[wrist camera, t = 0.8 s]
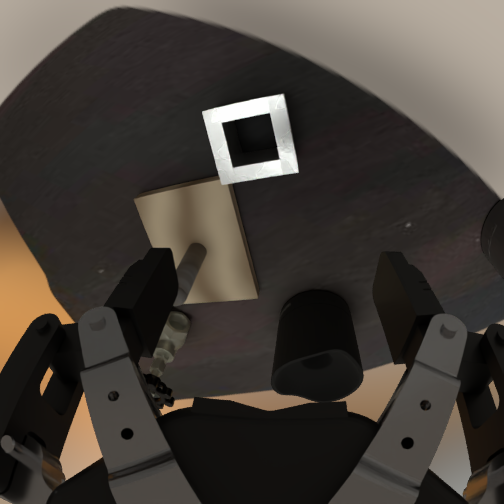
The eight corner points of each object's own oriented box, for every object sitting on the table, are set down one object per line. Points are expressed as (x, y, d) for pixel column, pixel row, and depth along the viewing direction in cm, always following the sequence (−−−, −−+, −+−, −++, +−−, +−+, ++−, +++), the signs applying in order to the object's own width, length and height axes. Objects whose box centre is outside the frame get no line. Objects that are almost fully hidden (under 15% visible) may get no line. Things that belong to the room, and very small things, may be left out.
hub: (284, 92, 22) (283, 94, 18) (297, 156, 25) (298, 172, 21) (217, 106, 24) (202, 111, 20) (233, 167, 27) (221, 185, 23)
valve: (149, 326, 41) (118, 392, 31) (160, 299, 37) (124, 371, 27) (189, 346, 42) (166, 414, 32) (205, 321, 38) (180, 397, 28)
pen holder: (337, 274, 32) (348, 343, 23) (361, 326, 36) (372, 390, 27) (263, 302, 35) (253, 369, 27) (296, 347, 39) (293, 410, 31)
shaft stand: (229, 173, 27) (202, 216, 19) (259, 289, 34) (249, 354, 26) (140, 193, 29) (91, 238, 21) (181, 296, 36) (156, 354, 28)
